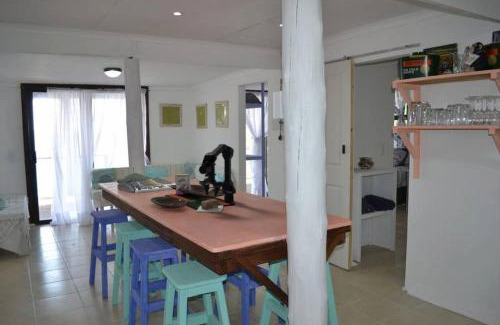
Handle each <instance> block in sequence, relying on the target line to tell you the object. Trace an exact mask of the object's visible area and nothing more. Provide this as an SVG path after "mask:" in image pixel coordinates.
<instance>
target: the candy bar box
mask: <svg viewBox="0 0 500 325" xmlns="http://www.w3.org/2000/svg"><path fill="white" fill-rule="evenodd" d="M174 176H175V181H174V183H176V189H175V195H176V196H177V195H180V196H181V195H183V193H182V192H180V191H179V190H178V189H180V188H184V189H190V190H191V174H190V173H176V174H175V175H174Z"/></svg>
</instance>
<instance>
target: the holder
mask: <svg viewBox="0 0 500 325" xmlns="http://www.w3.org/2000/svg"><path fill="white" fill-rule="evenodd" d="M163 185H164V187H162V188H159V187H155V188H152V189H148V188H147V189H141V190H138V188H135V189H136V190H135V192H134V193H136V194H140V193H141V194H142V193H149V192H151V193H152V192H157V191H159V192H160V191H167V190H168V191H169V190H173V189H172V188H171V187H169V186H171V185H176V182H174V183H169V184H163Z"/></svg>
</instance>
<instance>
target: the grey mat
mask: <svg viewBox="0 0 500 325" xmlns="http://www.w3.org/2000/svg"><path fill="white" fill-rule="evenodd" d="M223 208H224V205H218V208H214V209H209V210H204V209H202V207H201V205H199V206H198V208H197V209H196V213H221V212H222V211H223Z"/></svg>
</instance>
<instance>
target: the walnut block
mask: <svg viewBox="0 0 500 325" xmlns="http://www.w3.org/2000/svg"><path fill="white" fill-rule="evenodd" d="M200 206H201V207H202V209H204V210H209V209H214V208H218V206H219V200H218V199H213V198H212V199H207V200H202V201H201V205H200Z"/></svg>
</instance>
